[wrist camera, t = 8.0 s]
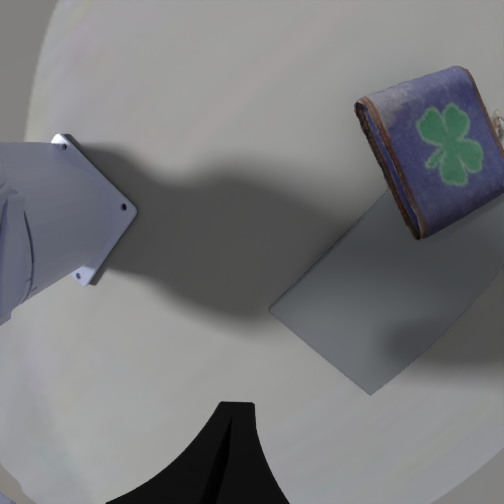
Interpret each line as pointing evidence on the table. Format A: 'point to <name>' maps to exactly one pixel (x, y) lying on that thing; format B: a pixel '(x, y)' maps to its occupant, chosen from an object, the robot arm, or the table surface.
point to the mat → (391, 290)
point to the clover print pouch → (435, 148)
